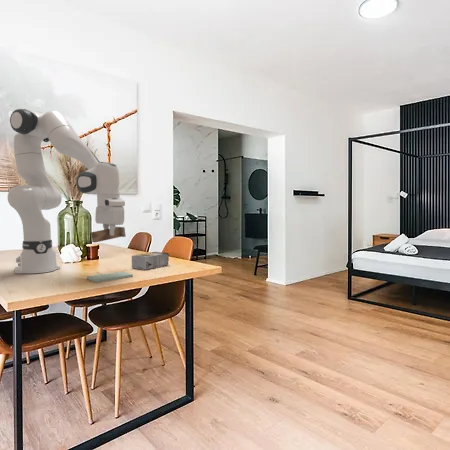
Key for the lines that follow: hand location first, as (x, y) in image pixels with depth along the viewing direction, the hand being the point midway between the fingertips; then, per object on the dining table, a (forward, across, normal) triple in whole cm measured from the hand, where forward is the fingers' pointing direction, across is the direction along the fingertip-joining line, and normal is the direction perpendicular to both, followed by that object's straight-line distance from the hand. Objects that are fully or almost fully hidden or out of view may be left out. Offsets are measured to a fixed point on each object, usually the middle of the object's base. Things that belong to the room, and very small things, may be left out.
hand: (109, 235), depth 148 cm
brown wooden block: (+2, 0, -1) cm, 2 cm away
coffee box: (+15, -9, +18) cm, 25 cm away
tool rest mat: (+18, 0, 0) cm, 18 cm away
